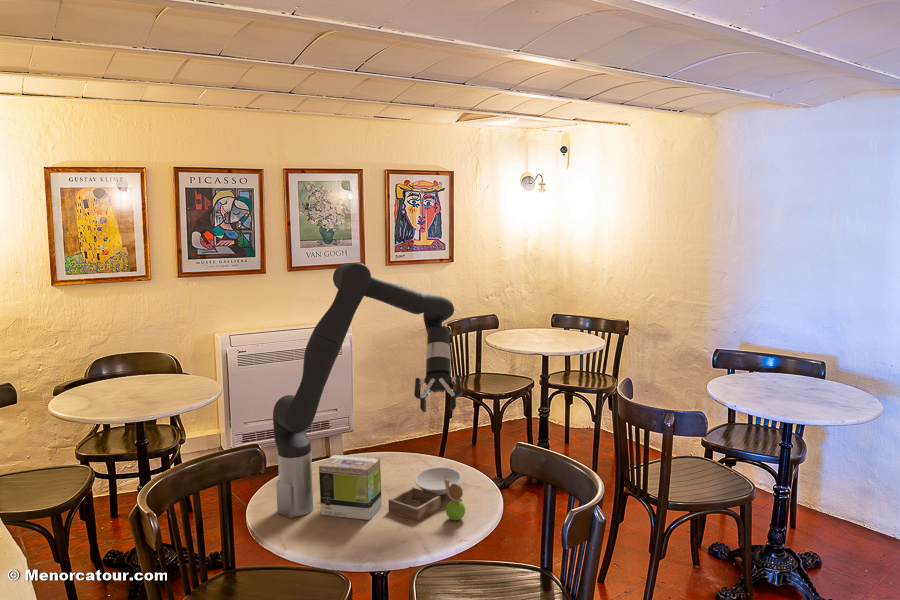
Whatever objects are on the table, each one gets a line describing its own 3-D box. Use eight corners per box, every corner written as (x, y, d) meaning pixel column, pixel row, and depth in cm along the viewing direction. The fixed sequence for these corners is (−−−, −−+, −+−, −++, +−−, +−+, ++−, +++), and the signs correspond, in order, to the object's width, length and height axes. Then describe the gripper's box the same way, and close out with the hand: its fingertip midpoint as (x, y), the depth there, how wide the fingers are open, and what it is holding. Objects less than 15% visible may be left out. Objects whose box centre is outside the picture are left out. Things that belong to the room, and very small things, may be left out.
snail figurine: (451, 512, 180) (451, 471, 179) (469, 518, 176) (469, 477, 175) (439, 519, 176) (438, 477, 174) (457, 525, 172) (456, 483, 170)
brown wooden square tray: (417, 521, 174) (417, 509, 174) (388, 511, 181) (388, 499, 180) (440, 507, 183) (440, 496, 182) (412, 498, 189) (412, 487, 189)
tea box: (382, 506, 184) (381, 457, 183) (369, 521, 175) (367, 470, 173) (335, 500, 188) (333, 452, 187) (319, 515, 179) (317, 465, 177)
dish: (457, 507, 183) (456, 491, 182) (408, 504, 185) (408, 487, 185) (466, 483, 200) (466, 467, 199) (422, 480, 203) (421, 465, 202)
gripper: (412, 357, 193) (411, 408, 186) (458, 353, 191) (459, 406, 184) (418, 365, 200) (417, 415, 193) (463, 362, 197) (463, 413, 190)
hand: (438, 410), depth 188 cm, fingers open, 8 cm apart
